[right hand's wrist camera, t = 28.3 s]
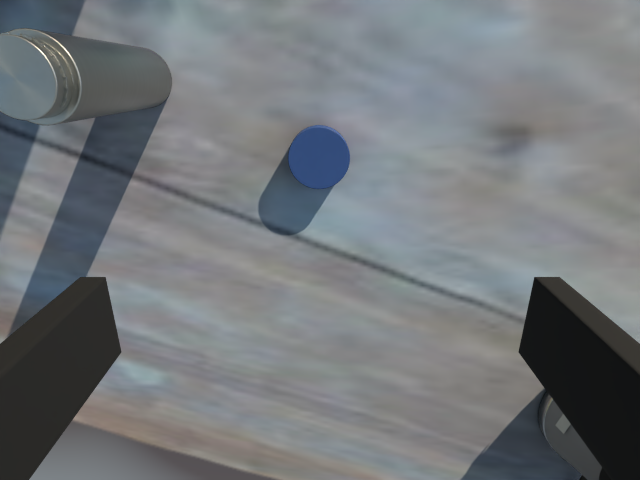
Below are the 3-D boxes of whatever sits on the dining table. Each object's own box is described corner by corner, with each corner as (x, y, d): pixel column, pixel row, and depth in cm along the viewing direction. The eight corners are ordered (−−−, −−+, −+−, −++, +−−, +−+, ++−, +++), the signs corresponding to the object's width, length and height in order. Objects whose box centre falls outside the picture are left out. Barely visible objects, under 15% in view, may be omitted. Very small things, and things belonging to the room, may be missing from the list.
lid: (302, 192, 39) (302, 197, 38) (280, 138, 37) (278, 141, 36) (356, 171, 38) (358, 176, 37) (336, 115, 37) (336, 117, 35)
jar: (162, 42, 35) (41, 15, 20) (179, 102, 36) (79, 119, 21) (107, 53, 35) (-54, 34, 20) (126, 112, 37) (-8, 135, 22)
